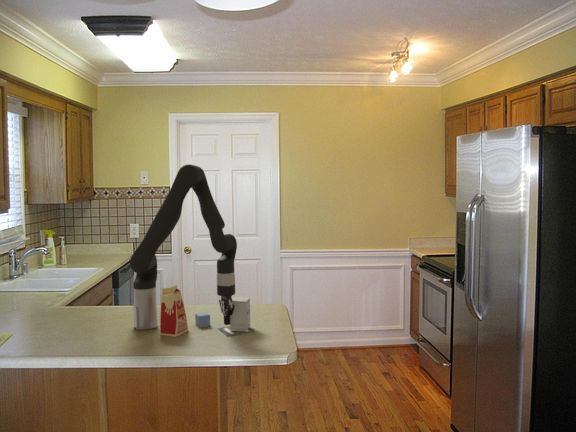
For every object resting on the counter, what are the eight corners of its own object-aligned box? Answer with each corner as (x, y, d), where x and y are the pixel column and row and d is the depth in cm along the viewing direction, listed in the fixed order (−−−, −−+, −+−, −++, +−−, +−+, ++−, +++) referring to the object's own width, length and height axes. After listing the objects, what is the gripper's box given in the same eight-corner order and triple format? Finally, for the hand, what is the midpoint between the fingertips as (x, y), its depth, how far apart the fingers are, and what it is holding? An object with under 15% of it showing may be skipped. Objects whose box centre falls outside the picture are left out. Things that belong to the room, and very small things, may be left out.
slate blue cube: (198, 327, 222) (198, 316, 221) (195, 324, 226) (195, 313, 226) (210, 326, 224) (209, 314, 223) (206, 323, 228) (206, 312, 228)
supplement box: (247, 331, 214) (246, 301, 213) (229, 331, 215) (228, 301, 214) (250, 326, 221) (250, 297, 220) (234, 326, 222) (233, 296, 221)
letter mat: (227, 336, 209) (227, 335, 209) (217, 328, 219) (217, 328, 219) (255, 331, 214) (255, 331, 214) (244, 324, 225) (244, 324, 225)
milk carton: (188, 330, 218) (186, 283, 216) (176, 337, 209) (174, 288, 208) (169, 328, 221) (167, 282, 219) (157, 335, 212) (155, 286, 211)
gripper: (212, 281, 217) (213, 321, 219) (222, 287, 206) (223, 330, 207) (229, 279, 221) (230, 319, 222) (240, 285, 209) (241, 327, 210)
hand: (227, 324), depth 215 cm, fingers closed
